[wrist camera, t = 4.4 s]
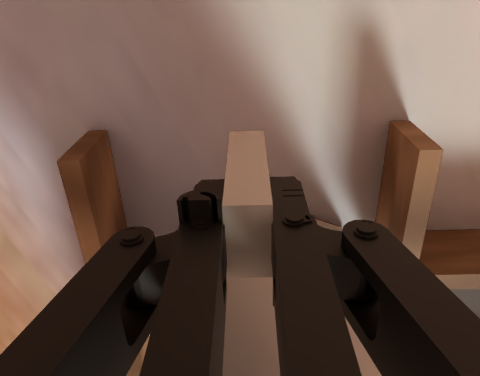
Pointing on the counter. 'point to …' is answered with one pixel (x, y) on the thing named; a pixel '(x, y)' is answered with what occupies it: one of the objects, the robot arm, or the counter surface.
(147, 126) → the counter surface
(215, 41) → the counter surface
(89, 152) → the lane
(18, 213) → the counter surface
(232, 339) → the supplement box
